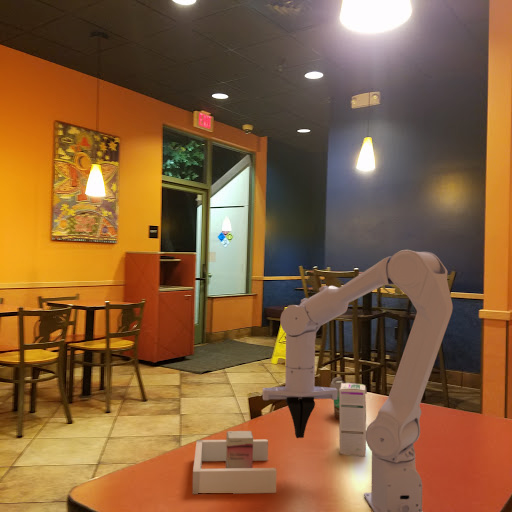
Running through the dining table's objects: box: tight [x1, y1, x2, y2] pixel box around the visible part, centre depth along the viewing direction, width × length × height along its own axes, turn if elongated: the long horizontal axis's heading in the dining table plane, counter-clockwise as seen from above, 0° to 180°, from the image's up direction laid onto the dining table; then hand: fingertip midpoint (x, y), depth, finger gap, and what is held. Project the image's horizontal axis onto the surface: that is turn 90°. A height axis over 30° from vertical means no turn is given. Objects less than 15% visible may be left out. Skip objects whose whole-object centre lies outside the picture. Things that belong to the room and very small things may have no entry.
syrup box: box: [338, 382, 367, 457], centre depth 113 cm, size 6×6×14 cm
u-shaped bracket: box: [192, 438, 277, 495], centre depth 98 cm, size 16×15×4 cm
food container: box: [329, 376, 368, 421], centre depth 137 cm, size 12×6×10 cm, turn 25°
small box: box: [225, 430, 254, 468], centre depth 99 cm, size 5×4×8 cm
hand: (299, 436), depth 98 cm, fingers closed
